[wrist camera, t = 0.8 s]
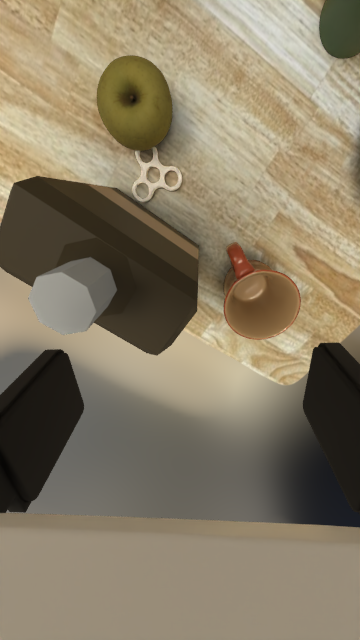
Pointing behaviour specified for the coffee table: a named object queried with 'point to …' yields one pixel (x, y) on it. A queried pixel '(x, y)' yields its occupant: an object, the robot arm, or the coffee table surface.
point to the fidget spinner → (161, 181)
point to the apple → (135, 102)
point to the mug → (258, 297)
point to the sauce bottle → (341, 27)
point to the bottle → (99, 262)
